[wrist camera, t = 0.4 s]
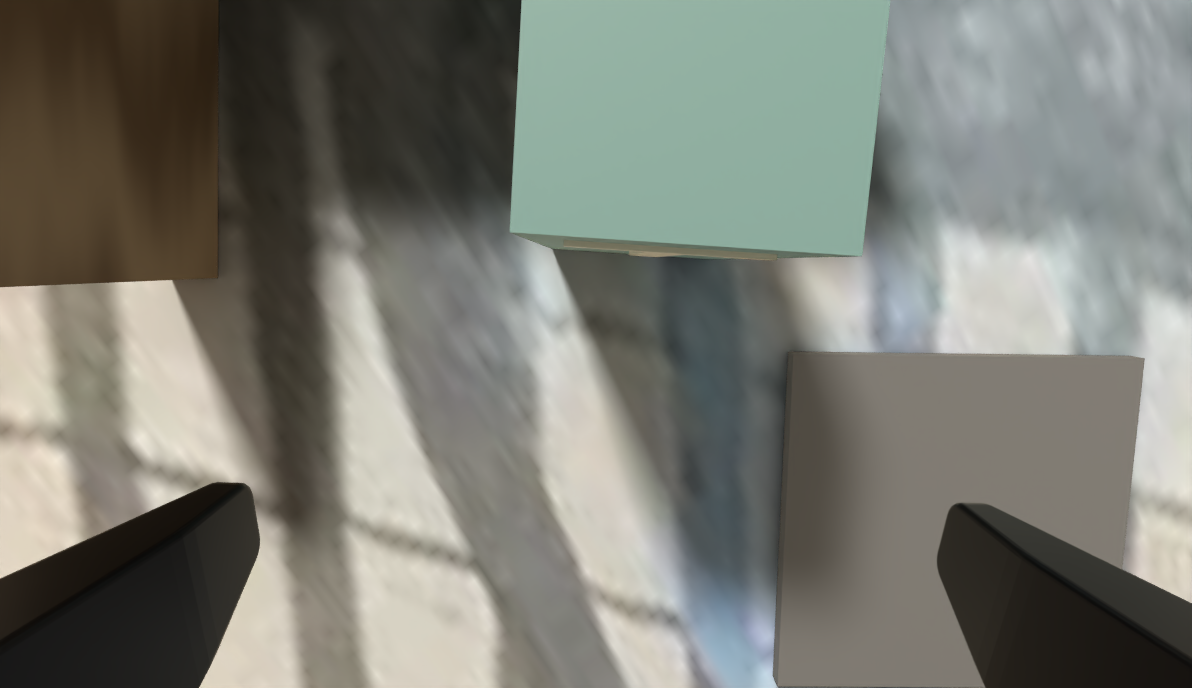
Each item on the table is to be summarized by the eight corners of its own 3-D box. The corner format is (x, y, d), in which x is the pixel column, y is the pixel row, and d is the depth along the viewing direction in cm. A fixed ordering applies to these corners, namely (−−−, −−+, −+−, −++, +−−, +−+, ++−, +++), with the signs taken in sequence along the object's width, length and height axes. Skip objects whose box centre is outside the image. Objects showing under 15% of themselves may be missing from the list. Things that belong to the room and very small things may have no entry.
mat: (1096, 677, 24) (1109, 688, 23) (772, 675, 23) (777, 686, 23) (1129, 355, 22) (1144, 358, 22) (787, 351, 22) (793, 354, 22)
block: (711, 262, 22) (860, 263, 10) (551, 251, 22) (509, 239, 10) (725, 94, 21) (903, -120, 9) (561, 83, 21) (529, -151, 9)
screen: (768, 314, 22) (892, 349, 13) (169, 274, 22) (-128, 283, 13) (806, -81, 21) (973, -344, 12) (167, -131, 20) (-166, -441, 11)
